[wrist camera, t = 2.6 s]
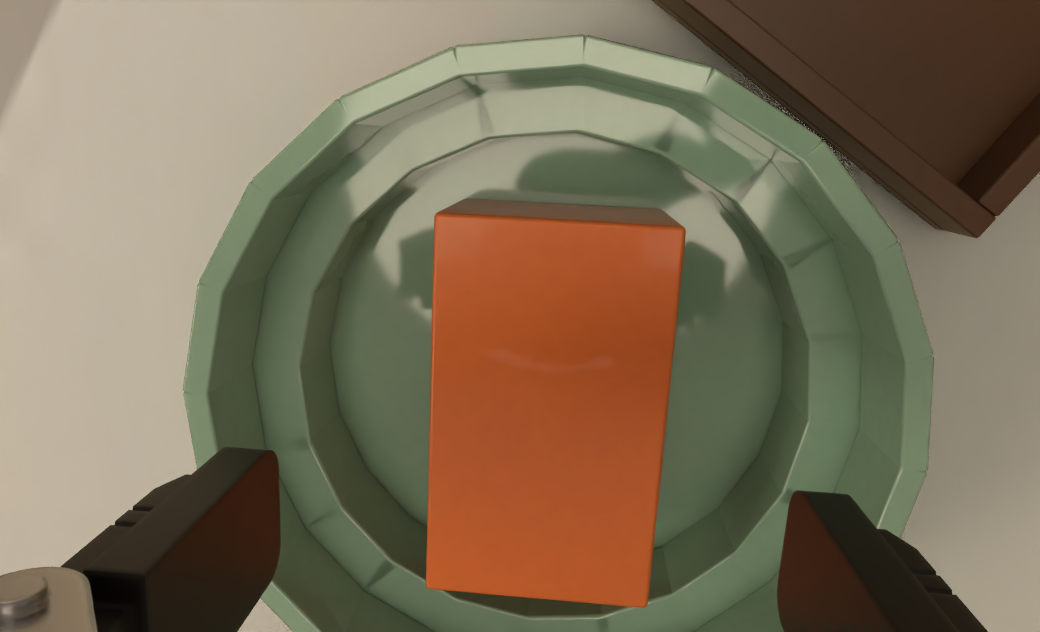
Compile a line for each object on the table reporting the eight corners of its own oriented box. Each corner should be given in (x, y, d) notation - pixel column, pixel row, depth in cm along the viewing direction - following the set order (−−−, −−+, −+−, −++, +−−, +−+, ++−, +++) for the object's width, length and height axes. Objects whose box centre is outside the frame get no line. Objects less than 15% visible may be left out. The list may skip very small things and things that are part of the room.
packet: (462, 197, 19) (432, 211, 15) (664, 208, 18) (688, 226, 14) (452, 505, 21) (424, 590, 17) (634, 520, 20) (648, 610, 16)
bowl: (733, -38, 17) (795, -108, 12) (911, 514, 20) (1019, 632, 15) (184, 203, 20) (56, 223, 15) (412, 668, 22) (368, 813, 18)
